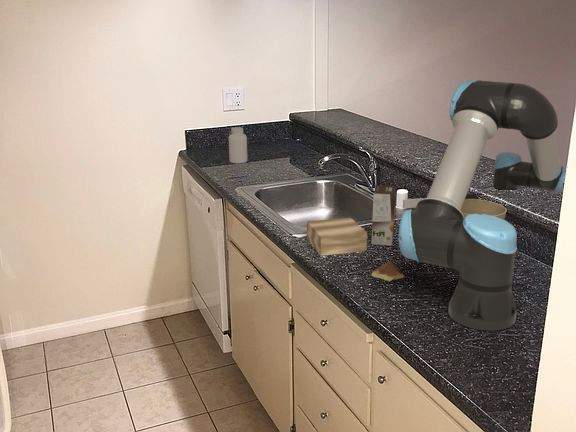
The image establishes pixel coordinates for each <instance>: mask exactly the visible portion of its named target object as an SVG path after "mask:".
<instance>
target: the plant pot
mask: <svg viewBox="0 0 576 432" xmlns="http://www.w3.org/2000/svg"><path fill="white" fill-rule="evenodd" d="M461 212H462V213H463V216H464V219H465V217H466V216H468V215H471V214H479V215H481V214H486V215H491V216H495V217H498V218H501V219H503V220H505V218H506V212H507V209H506V208H505V207H504V206H503V205H501V204H498V203H495V202H492V201H487V200H481V199H465V200H464V203H463V205H462V208H461Z"/></svg>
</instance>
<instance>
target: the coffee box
mask: <svg viewBox="0 0 576 432" xmlns="http://www.w3.org/2000/svg"><path fill="white" fill-rule="evenodd" d="M372 195H373V198H372V199H373V200H372V215H371V216H372V217H371V219H372V222H371V242H370V243H371V245H378V246H379V245H380V246H392V245H393V241H394V235H395V219H396V201H397V186H396V185H387V184H385V185H380V184H379V185H377V184H376V185H375V188H374V190H373V193H372Z"/></svg>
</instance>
